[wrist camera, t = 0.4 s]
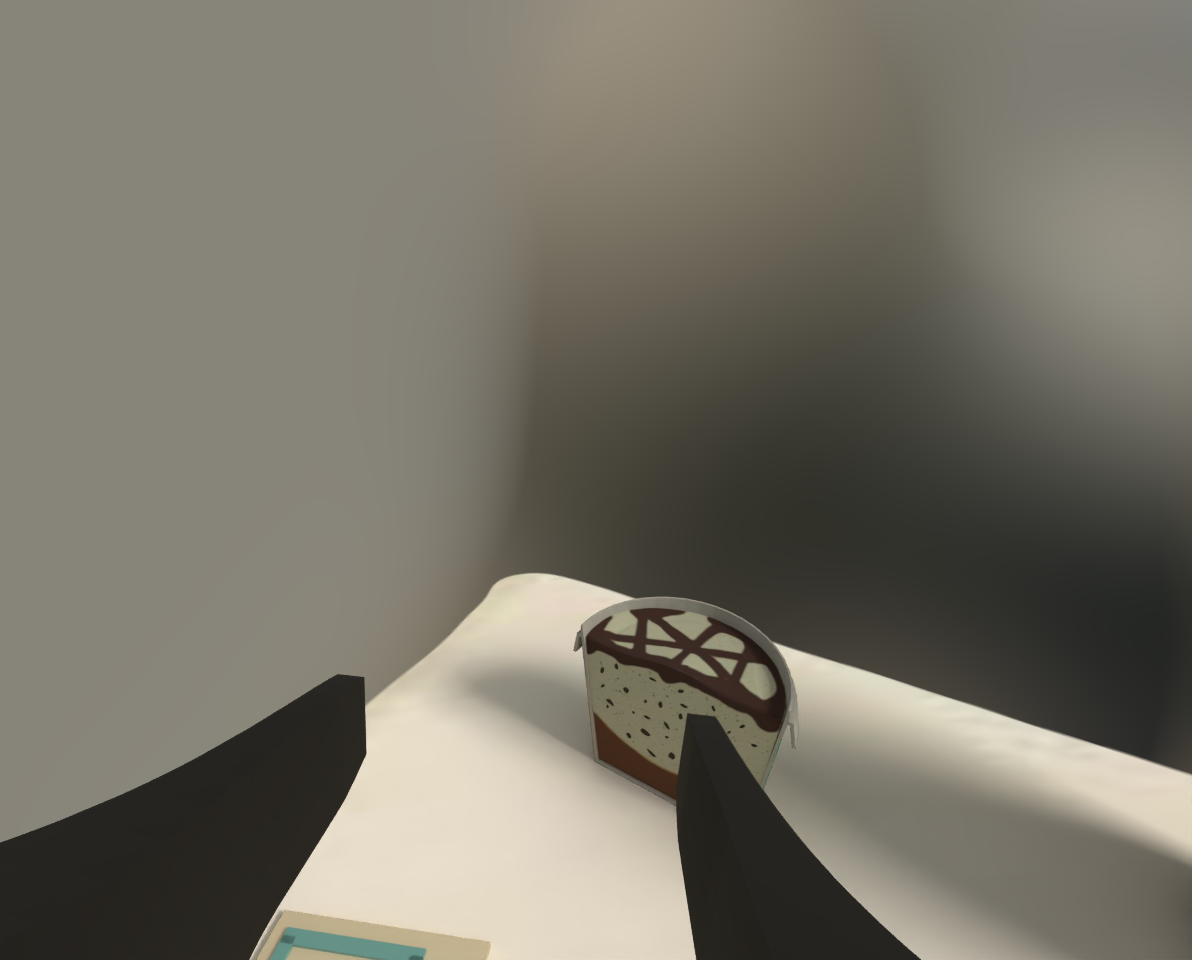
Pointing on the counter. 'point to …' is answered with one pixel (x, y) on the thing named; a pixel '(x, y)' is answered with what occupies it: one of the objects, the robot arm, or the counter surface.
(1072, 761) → the counter surface
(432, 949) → the card sheet
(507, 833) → the counter surface
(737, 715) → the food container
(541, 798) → the counter surface
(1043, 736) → the counter surface
